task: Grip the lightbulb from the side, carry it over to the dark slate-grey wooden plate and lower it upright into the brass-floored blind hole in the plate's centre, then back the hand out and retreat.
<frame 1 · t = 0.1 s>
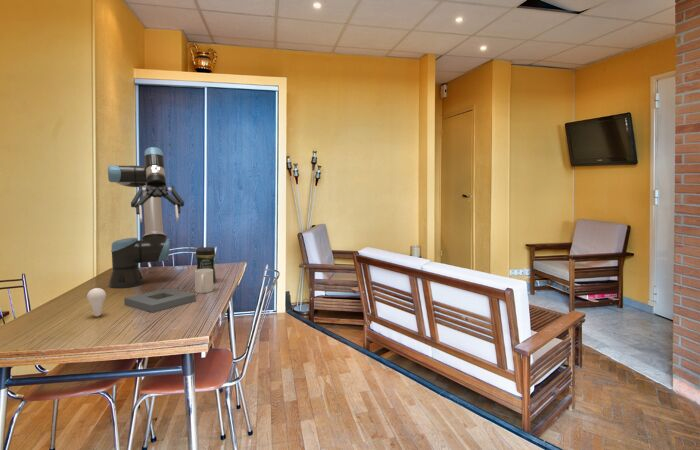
hand: (159, 220, 167), 36 cm above the table, tool tilted 35°, fingers open, 13 cm apart
socket plate: (160, 302, 173), on the table
lightbulb: (97, 316, 155), on the table
coffee jar: (206, 283, 211), on the table
cup: (203, 292, 192), on the table
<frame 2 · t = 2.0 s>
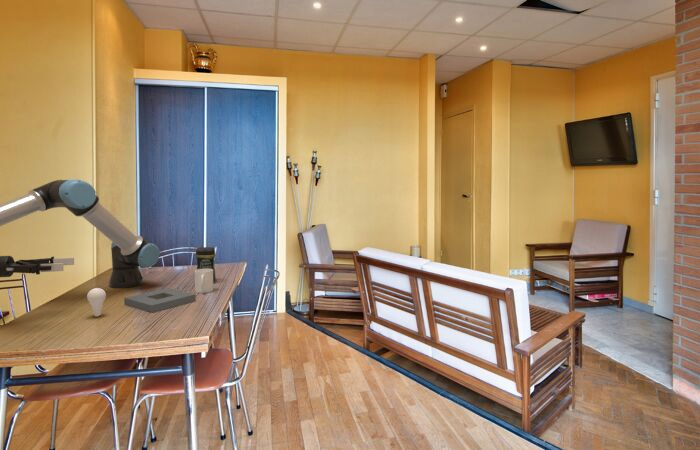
hand: (68, 264, 150), 21 cm above the table, tool horizontal, fingers open, 13 cm apart
nothing on the table moved.
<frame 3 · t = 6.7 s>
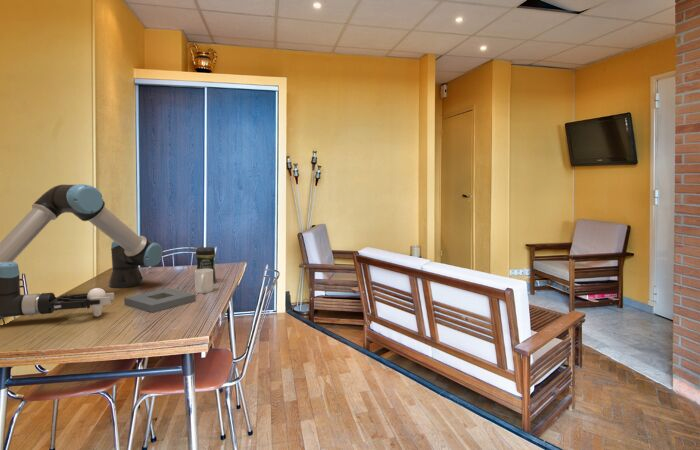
hand: (112, 298, 156), 7 cm above the table, tool horizontal, fingers closed on lightbulb, 6 cm apart
lightbulb: (97, 316, 155), on the table, touching gripper
everything else where it was.
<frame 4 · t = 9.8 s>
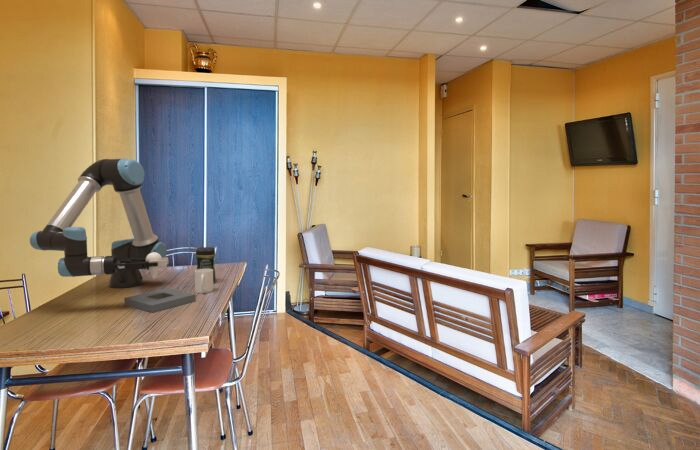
hand: (167, 262, 171), 18 cm above the table, tool horizontal, fingers closed on lightbulb, 6 cm apart
lightbulb: (154, 278, 170), point 11 cm above the table, touching gripper
everything else where it was.
when the fingers open (8 cm above the table, at t = 12.7 s): lightbulb drops 1 cm, resting on socket plate.
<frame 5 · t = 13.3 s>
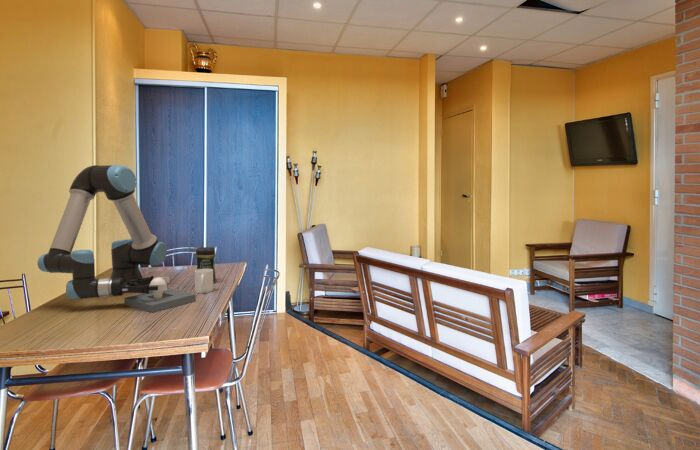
hand: (168, 283, 174), 8 cm above the table, tool horizontal, fingers open, 13 cm apart
lightbulb: (158, 304, 170), resting on socket plate
everything else where it was.
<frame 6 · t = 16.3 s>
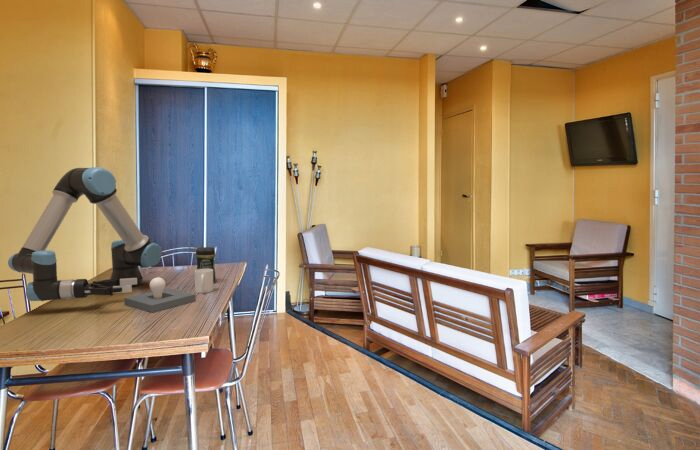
hand: (134, 284, 169), 9 cm above the table, tool horizontal, fingers open, 13 cm apart
nothing on the table moved.
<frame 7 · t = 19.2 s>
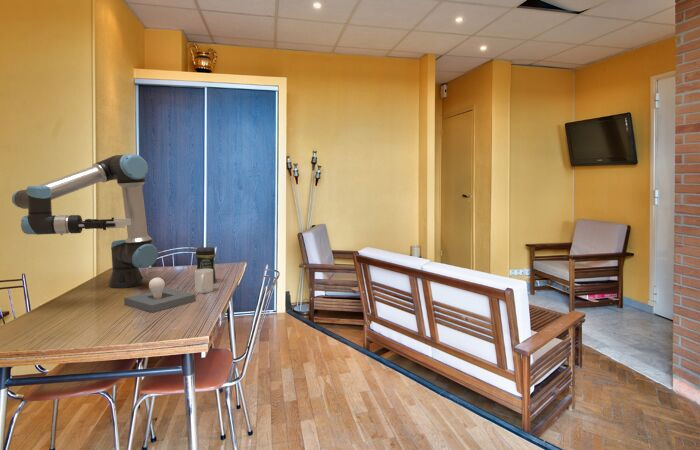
hand: (127, 223, 173), 34 cm above the table, tool horizontal, fingers open, 13 cm apart
nothing on the table moved.
at the end: lightbulb 2.9 cm off-centre on the socket plate, point 0.4 cm above the socket plate's base; lightbulb tilted 3°; the gripper is holding nothing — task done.
